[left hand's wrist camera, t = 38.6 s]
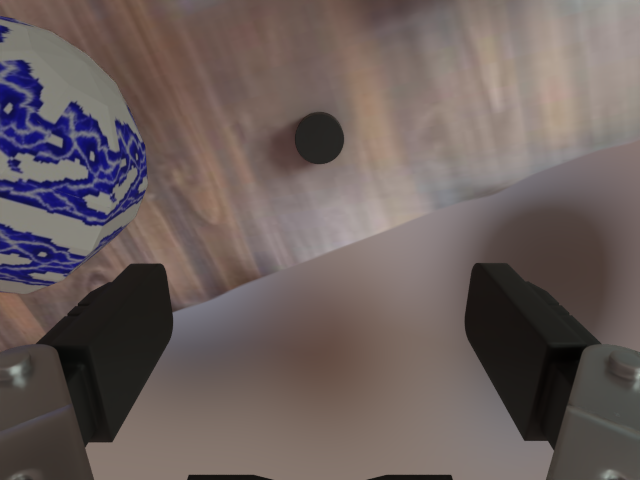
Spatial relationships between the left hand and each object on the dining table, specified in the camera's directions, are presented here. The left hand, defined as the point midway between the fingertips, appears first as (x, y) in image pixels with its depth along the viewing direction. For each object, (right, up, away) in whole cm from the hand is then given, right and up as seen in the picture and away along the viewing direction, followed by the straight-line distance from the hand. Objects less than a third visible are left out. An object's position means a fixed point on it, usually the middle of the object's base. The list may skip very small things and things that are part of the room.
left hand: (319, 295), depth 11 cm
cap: (0, +10, +26) cm, 28 cm away
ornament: (-23, +11, +28) cm, 38 cm away
